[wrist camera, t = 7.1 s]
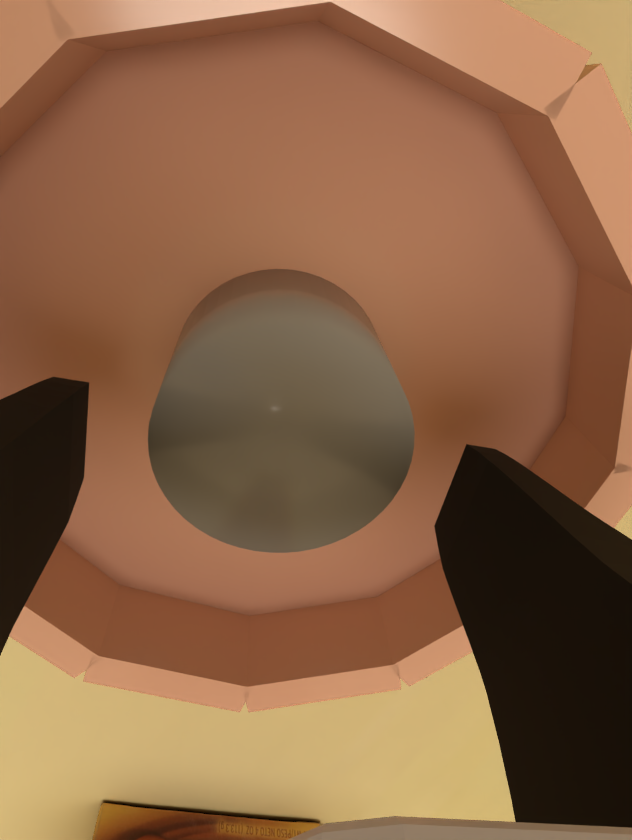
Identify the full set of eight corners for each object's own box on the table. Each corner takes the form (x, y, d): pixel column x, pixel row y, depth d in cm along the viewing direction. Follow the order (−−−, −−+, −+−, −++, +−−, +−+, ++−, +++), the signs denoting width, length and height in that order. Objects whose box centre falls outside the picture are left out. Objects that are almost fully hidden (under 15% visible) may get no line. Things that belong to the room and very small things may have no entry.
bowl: (-238, 329, 13) (-374, 390, 10) (348, -280, 9) (383, -440, 7) (240, 686, 20) (235, 781, 17) (693, 415, 16) (782, 481, 13)
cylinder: (129, 356, 13) (88, 434, 10) (298, 221, 12) (308, 263, 9) (265, 491, 15) (264, 589, 12) (420, 386, 14) (462, 465, 11)
